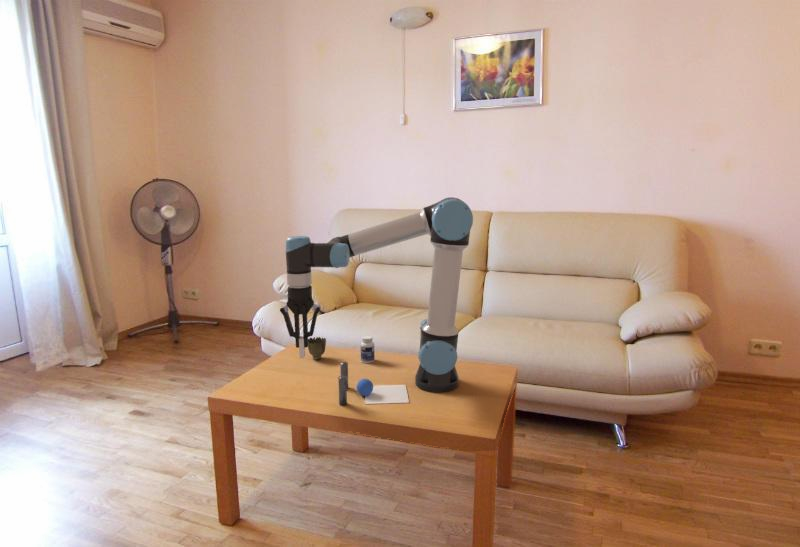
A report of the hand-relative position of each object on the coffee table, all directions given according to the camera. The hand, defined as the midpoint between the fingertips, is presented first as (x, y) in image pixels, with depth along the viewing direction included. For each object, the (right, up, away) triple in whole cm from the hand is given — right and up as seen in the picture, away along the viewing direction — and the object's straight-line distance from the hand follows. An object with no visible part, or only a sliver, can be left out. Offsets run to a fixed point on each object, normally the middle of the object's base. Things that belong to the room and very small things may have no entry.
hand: (302, 356), depth 165 cm
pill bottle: (+19, -8, +35) cm, 40 cm away
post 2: (+13, -15, -3) cm, 20 cm away
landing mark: (+27, -13, +4) cm, 30 cm away
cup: (-1, -7, +38) cm, 38 cm away
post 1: (+13, -12, +10) cm, 20 cm away
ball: (+20, -11, +3) cm, 23 cm away
